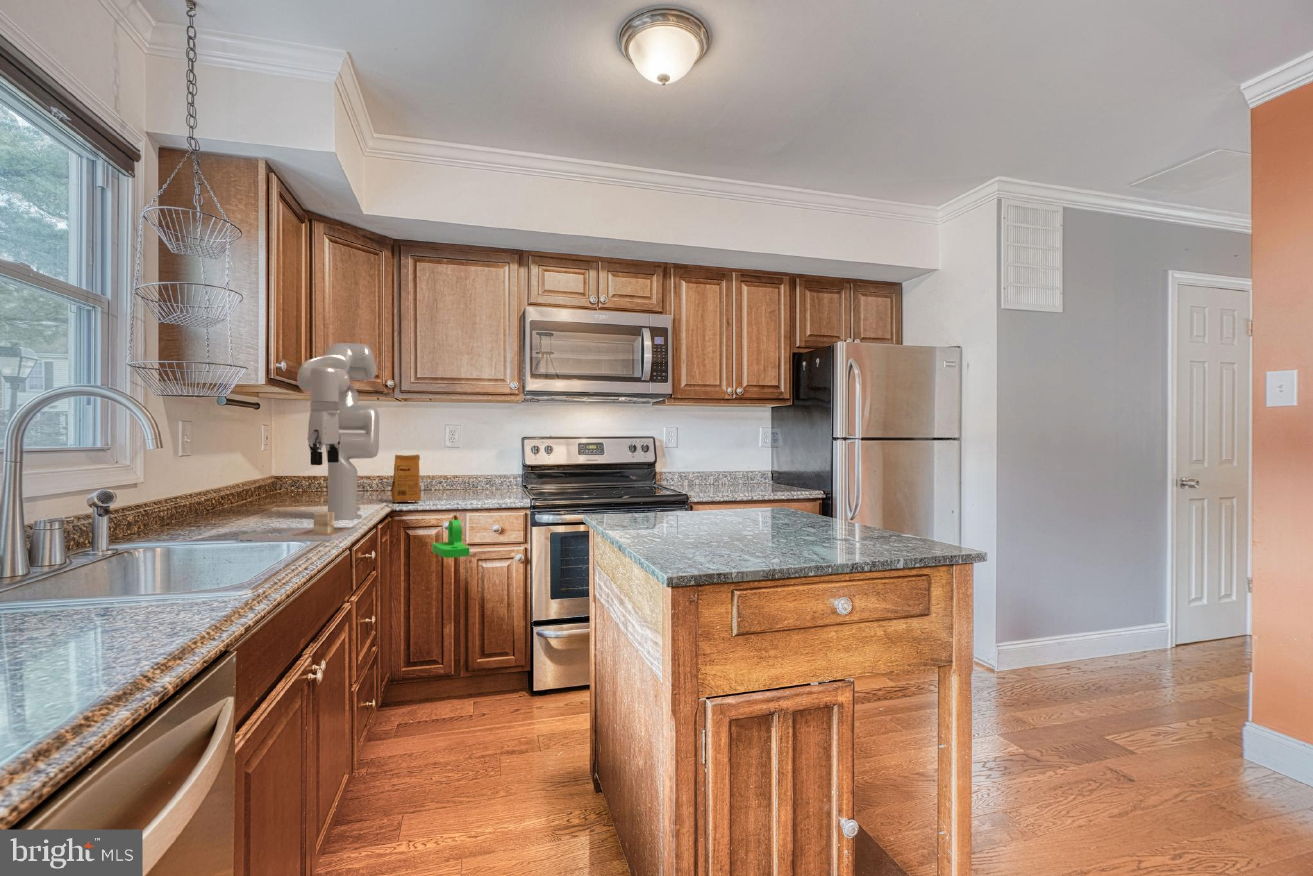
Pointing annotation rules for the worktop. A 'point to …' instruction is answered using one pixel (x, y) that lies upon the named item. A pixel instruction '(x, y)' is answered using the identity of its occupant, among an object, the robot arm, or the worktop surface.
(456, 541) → the mechanical part
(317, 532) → the wooden cube
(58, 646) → the worktop surface
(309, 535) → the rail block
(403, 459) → the coffee package
